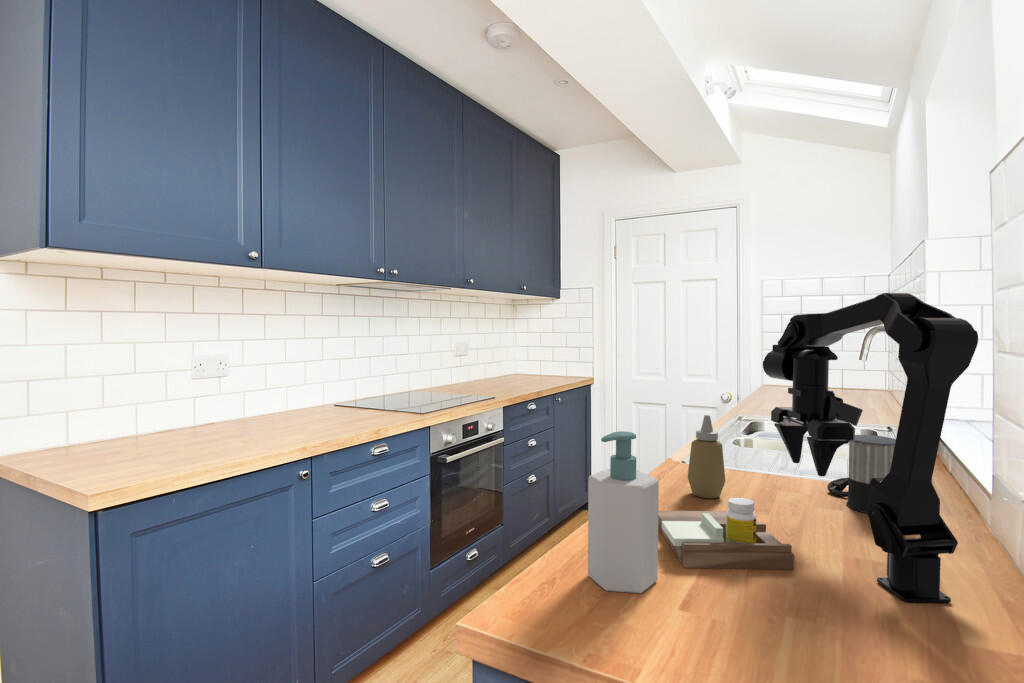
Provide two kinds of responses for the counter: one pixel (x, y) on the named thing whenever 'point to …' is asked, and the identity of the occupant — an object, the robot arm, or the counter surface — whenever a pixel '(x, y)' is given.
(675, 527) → the cover
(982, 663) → the counter surface
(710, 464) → the squeeze bottle
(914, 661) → the counter surface
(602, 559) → the soap bottle
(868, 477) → the milk frother
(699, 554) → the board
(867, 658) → the counter surface
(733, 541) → the supplement bottle
